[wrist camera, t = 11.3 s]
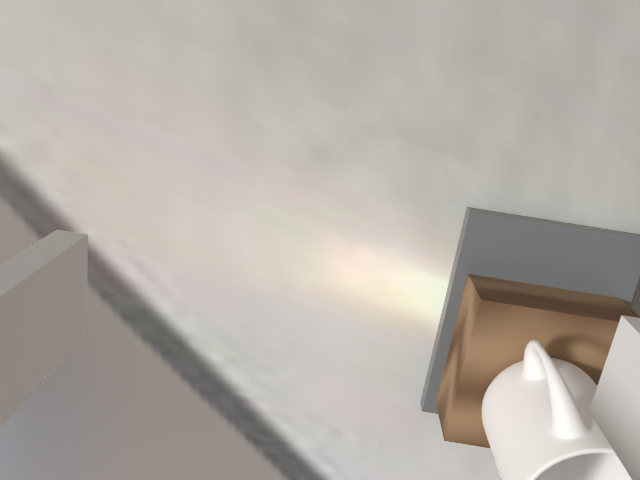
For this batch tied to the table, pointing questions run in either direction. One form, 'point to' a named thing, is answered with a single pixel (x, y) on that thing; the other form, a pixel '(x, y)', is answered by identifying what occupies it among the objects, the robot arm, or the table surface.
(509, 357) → the walnut block
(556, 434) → the mug
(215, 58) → the table surface
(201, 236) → the table surface
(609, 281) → the slate tile
